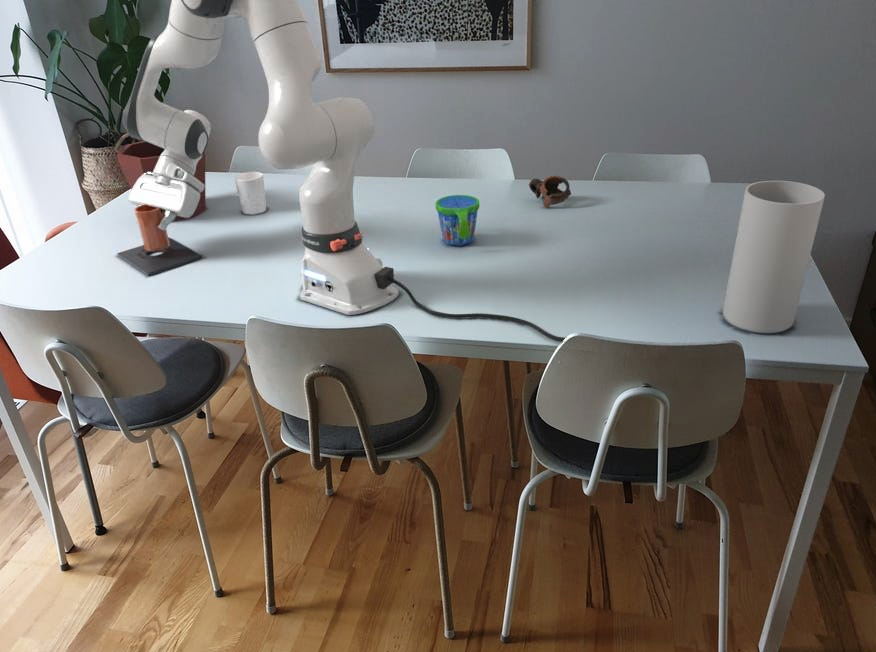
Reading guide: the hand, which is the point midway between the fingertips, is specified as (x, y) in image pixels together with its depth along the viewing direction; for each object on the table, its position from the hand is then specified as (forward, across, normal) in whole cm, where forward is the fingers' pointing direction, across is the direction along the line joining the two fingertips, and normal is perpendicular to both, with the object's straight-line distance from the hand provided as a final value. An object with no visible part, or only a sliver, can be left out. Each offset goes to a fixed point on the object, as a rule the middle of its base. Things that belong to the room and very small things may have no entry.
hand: (150, 226), depth 177 cm
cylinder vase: (-18, +133, +29) cm, 137 cm away
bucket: (-12, -23, +24) cm, 35 cm away
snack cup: (-24, +62, +36) cm, 75 cm away
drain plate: (+5, 0, +6) cm, 8 cm away
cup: (+3, 0, +4) cm, 5 cm away
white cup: (-20, -2, +32) cm, 37 cm away
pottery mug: (-49, +70, +60) cm, 104 cm away
